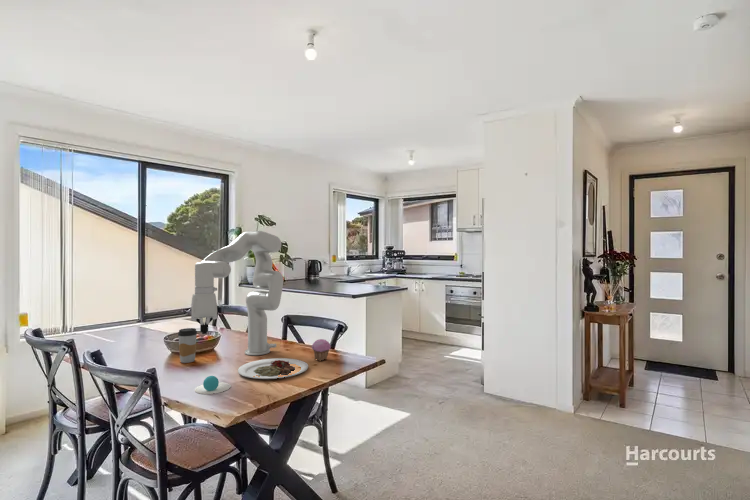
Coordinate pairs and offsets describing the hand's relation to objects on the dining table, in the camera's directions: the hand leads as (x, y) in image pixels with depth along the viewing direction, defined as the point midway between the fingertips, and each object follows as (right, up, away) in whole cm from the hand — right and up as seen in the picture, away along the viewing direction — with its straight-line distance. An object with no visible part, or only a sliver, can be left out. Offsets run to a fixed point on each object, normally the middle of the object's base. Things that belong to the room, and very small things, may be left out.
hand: (204, 333), depth 180 cm
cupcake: (+47, -17, +22) cm, 55 cm away
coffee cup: (-16, -17, +19) cm, 30 cm away
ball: (+11, -15, -22) cm, 28 cm away
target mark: (+11, -17, -19) cm, 28 cm away
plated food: (+29, -18, +4) cm, 34 cm away
